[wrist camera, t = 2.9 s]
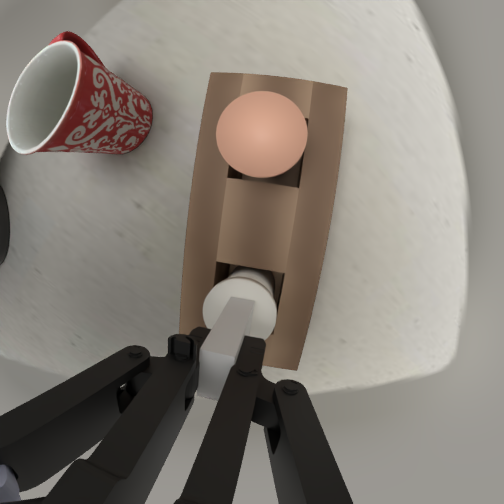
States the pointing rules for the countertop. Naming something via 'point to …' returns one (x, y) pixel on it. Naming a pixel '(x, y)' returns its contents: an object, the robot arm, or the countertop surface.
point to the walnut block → (264, 211)
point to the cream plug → (245, 287)
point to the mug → (74, 104)
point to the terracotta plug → (261, 134)
